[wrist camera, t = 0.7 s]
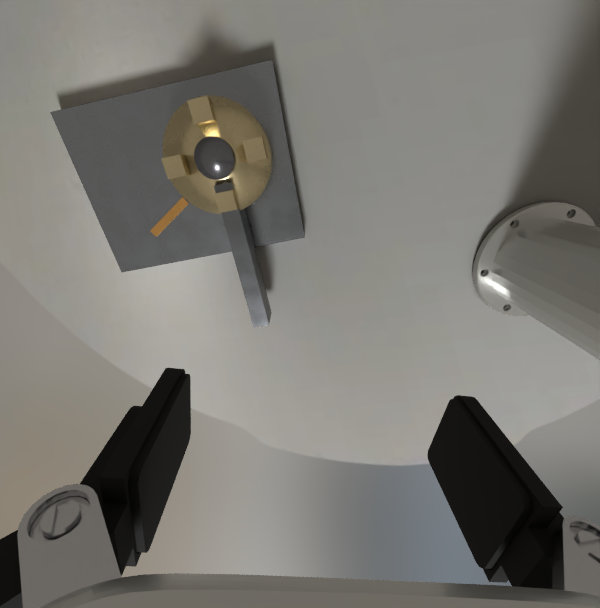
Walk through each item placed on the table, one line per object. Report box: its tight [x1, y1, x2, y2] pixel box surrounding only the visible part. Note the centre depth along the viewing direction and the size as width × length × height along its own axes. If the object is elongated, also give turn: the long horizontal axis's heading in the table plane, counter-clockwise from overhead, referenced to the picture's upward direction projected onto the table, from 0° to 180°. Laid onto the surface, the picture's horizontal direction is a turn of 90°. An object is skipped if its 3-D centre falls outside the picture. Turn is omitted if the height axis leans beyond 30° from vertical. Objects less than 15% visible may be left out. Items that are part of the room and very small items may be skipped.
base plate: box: [50, 60, 305, 272], centre depth 30 cm, size 20×15×2 cm
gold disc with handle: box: [161, 95, 273, 327], centre depth 29 cm, size 9×20×4 cm, turn 11°
